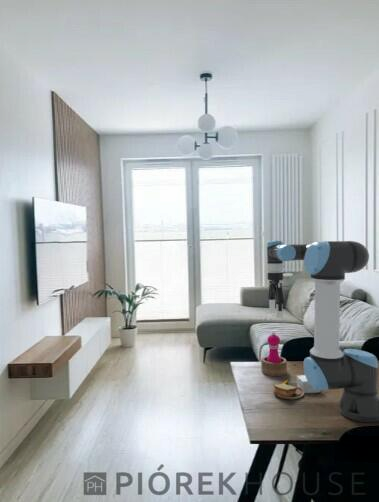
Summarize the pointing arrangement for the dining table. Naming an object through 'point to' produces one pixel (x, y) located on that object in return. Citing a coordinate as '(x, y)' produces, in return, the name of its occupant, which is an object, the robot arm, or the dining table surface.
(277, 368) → the wicker basket
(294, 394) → the toy sandwich meal
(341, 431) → the dining table surface
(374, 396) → the robot arm
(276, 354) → the pepper mill
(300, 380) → the small box
